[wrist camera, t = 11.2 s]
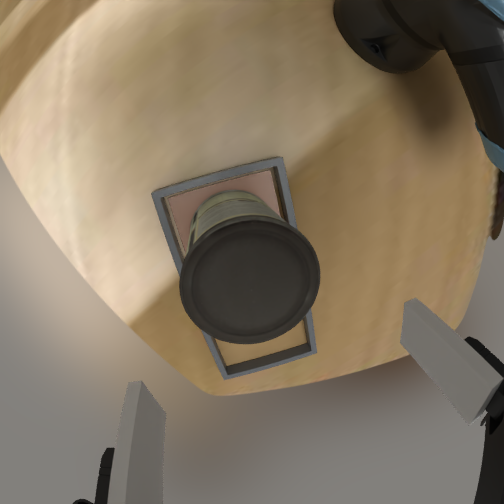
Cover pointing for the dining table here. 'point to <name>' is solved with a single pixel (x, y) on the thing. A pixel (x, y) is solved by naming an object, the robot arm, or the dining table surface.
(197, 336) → the dining table surface
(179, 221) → the organiser
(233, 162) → the dining table surface
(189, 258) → the coffee can
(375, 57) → the robot arm
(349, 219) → the dining table surface
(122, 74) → the dining table surface
